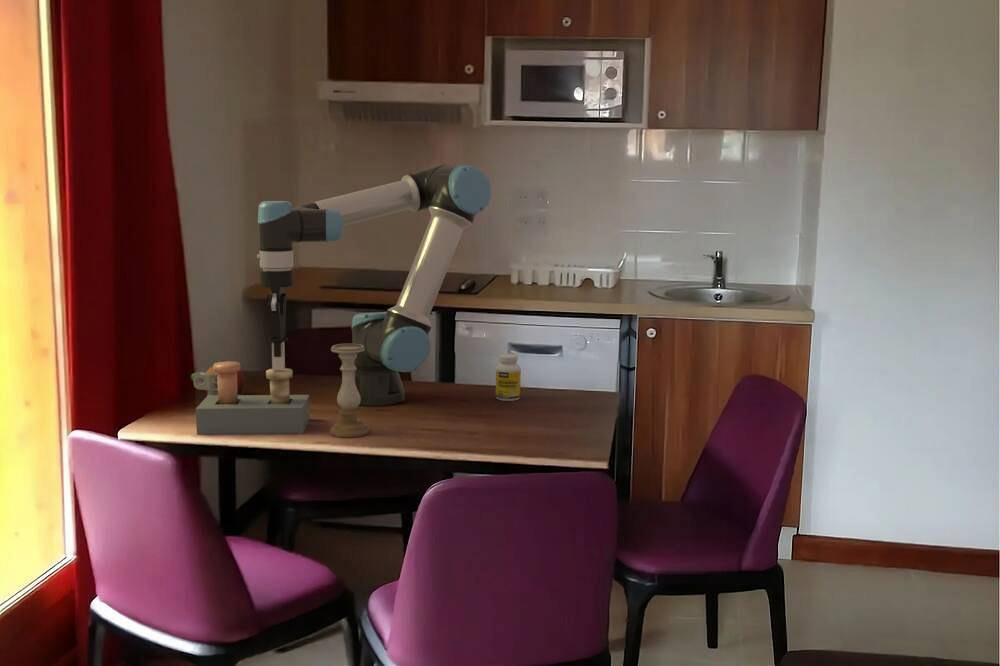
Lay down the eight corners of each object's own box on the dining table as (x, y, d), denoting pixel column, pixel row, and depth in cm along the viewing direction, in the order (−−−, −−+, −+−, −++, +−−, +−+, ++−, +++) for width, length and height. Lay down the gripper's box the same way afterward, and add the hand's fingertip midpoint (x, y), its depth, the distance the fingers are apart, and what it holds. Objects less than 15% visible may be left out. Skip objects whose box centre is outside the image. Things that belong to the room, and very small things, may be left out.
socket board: (309, 418, 247) (309, 394, 246) (303, 433, 234) (302, 407, 233) (208, 419, 245) (207, 395, 244) (196, 434, 232) (195, 408, 231)
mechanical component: (229, 416, 249) (228, 376, 247) (191, 413, 251) (189, 373, 249) (235, 413, 252) (233, 373, 250) (197, 410, 254) (195, 371, 252)
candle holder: (371, 436, 232) (370, 349, 229) (332, 439, 230) (331, 350, 226) (365, 426, 240) (364, 342, 237) (327, 429, 238) (326, 343, 234)
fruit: (250, 399, 266) (249, 362, 264) (213, 404, 260) (211, 366, 258) (236, 391, 274) (235, 355, 273) (199, 396, 269) (198, 359, 267)
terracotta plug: (243, 400, 241) (242, 361, 240) (238, 406, 236) (237, 366, 234) (217, 400, 241) (216, 361, 239) (212, 407, 235) (210, 366, 233)
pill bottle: (491, 400, 268) (492, 356, 266) (501, 395, 274) (501, 352, 272) (514, 402, 265) (515, 358, 263) (523, 397, 271) (524, 354, 269)
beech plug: (294, 407, 243) (293, 368, 241) (291, 413, 237) (290, 373, 235) (269, 407, 242) (268, 368, 241) (265, 413, 236) (264, 373, 235)
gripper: (264, 265, 240) (266, 364, 244) (255, 272, 227) (257, 375, 231) (296, 266, 240) (298, 364, 244) (289, 272, 228) (291, 375, 232)
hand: (278, 369), depth 238 cm, fingers closed
